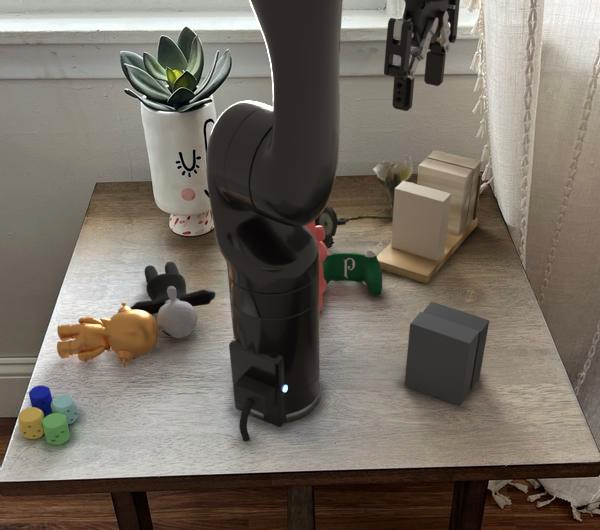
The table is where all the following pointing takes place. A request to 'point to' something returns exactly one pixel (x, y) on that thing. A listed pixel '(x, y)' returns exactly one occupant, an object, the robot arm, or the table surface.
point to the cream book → (420, 220)
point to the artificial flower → (328, 219)
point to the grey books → (445, 352)
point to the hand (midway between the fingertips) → (417, 96)
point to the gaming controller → (354, 269)
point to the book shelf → (420, 262)
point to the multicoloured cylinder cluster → (52, 424)
